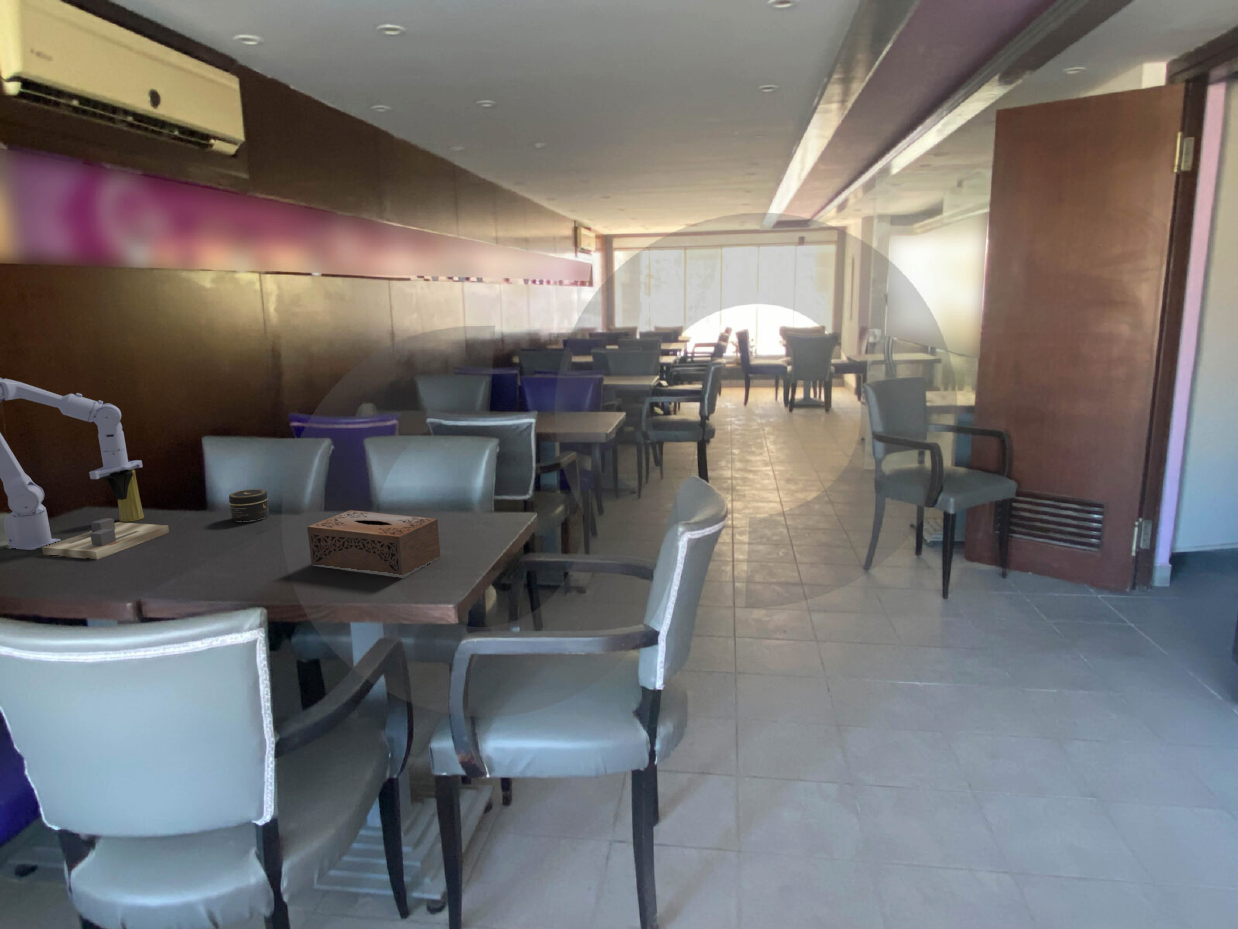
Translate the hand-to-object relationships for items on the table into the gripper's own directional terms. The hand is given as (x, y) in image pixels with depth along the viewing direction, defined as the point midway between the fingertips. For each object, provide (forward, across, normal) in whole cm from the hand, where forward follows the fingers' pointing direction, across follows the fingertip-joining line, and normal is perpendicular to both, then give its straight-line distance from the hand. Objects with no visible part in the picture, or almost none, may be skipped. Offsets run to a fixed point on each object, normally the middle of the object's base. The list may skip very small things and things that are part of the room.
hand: (121, 499), depth 211 cm
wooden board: (+9, -9, -4) cm, 13 cm away
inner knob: (+7, -6, +1) cm, 9 cm away
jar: (+10, +18, -25) cm, 32 cm away
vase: (+10, +11, +10) cm, 18 cm away
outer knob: (+7, -14, -8) cm, 18 cm away
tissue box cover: (+10, -8, -82) cm, 83 cm away
